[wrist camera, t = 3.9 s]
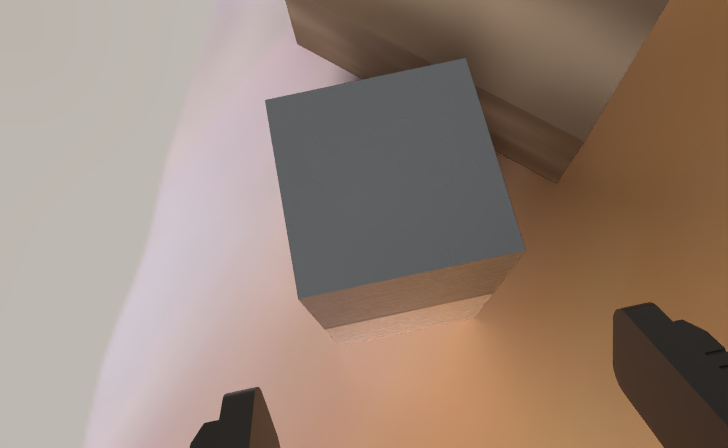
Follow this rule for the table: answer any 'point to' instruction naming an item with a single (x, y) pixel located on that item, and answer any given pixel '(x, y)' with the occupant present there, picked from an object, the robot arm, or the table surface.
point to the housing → (393, 202)
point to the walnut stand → (496, 58)
